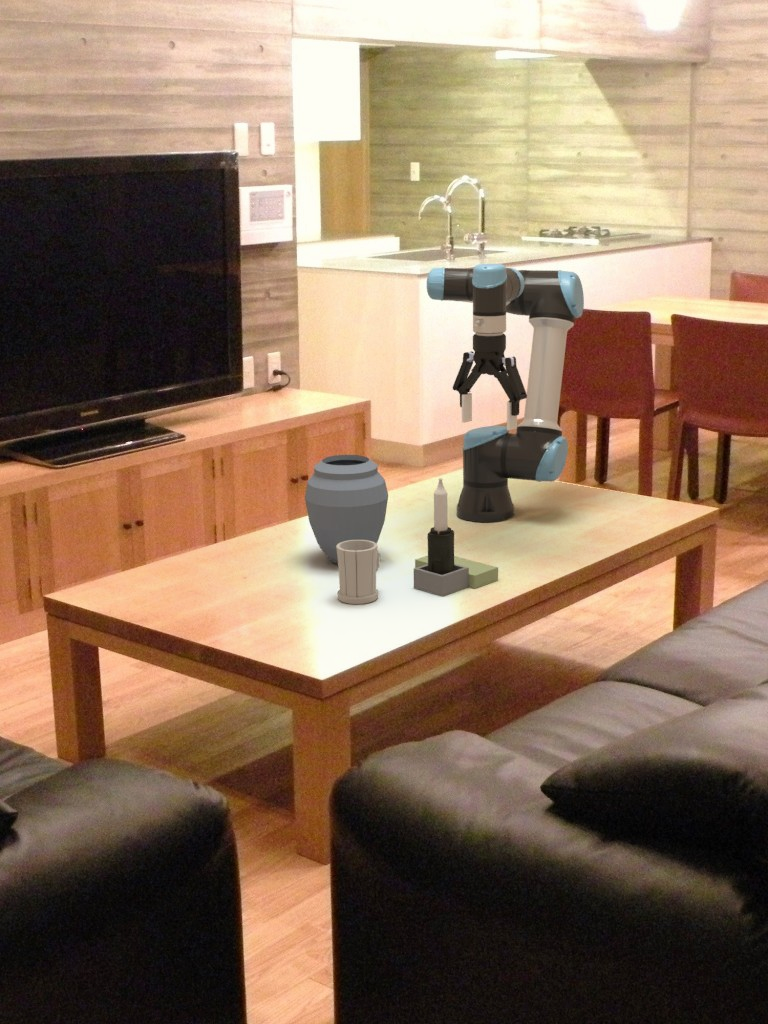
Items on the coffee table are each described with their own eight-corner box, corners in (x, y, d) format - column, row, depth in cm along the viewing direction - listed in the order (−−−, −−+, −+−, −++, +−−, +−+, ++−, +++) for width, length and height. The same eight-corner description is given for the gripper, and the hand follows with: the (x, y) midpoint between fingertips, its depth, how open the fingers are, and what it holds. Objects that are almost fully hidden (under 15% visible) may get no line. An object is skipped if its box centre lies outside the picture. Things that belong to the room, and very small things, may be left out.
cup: (339, 589, 305) (338, 537, 302) (380, 589, 305) (379, 537, 302) (336, 605, 295) (334, 551, 292) (378, 604, 295) (377, 551, 292)
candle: (455, 585, 307) (455, 475, 300) (448, 592, 302) (448, 481, 296) (433, 583, 309) (432, 474, 302) (426, 589, 304) (425, 479, 297)
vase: (289, 562, 326) (285, 461, 319) (347, 543, 339) (345, 447, 333) (348, 578, 313) (346, 474, 306) (406, 558, 326) (405, 458, 320)
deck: (388, 580, 311) (388, 561, 309) (438, 564, 322) (438, 545, 321) (448, 598, 298) (448, 578, 297) (498, 580, 310) (498, 561, 308)
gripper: (437, 330, 319) (438, 420, 324) (521, 340, 302) (520, 435, 307) (459, 327, 324) (459, 416, 329) (543, 336, 307) (541, 430, 312)
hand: (489, 425), depth 318 cm, fingers open, 13 cm apart
